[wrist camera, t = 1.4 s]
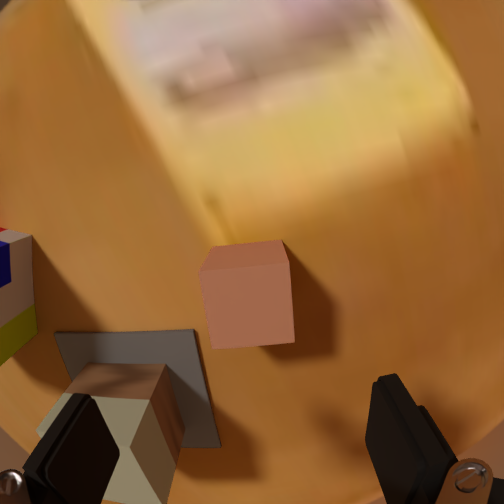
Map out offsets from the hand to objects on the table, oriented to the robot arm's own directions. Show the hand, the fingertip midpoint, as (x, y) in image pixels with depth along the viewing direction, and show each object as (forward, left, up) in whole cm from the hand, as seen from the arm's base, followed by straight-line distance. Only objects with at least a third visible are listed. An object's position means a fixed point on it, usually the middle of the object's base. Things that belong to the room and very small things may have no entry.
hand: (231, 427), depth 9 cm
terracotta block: (0, 0, -15) cm, 15 cm away
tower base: (+12, +11, -15) cm, 22 cm away
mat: (+12, +11, -15) cm, 22 cm away
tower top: (+12, +11, -10) cm, 19 cm away
